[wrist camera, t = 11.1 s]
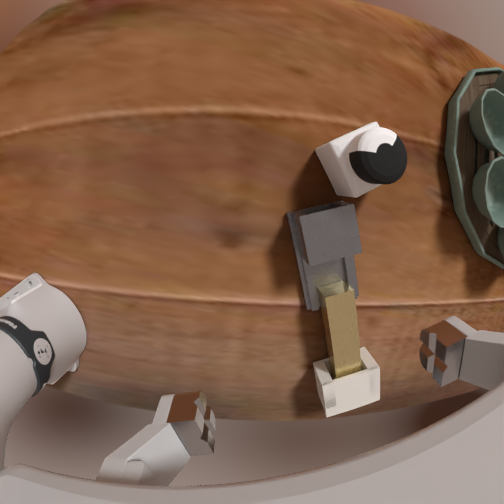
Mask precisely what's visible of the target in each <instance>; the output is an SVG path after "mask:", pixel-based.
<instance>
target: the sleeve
mask: <svg viewBox="0 0 504 504" xmlns="http://www.w3.org/2000/svg"><path fill="white" fill-rule="evenodd" d="M286 215H287V220H288V224H289V229H290V233H291V238H292V242H293V247H294V252H295V256H296V261H297V266H298V271H299V276H300V280H301V285H302V290H303V296H304V301H305V306H306V309H307V310H310V309H312V311H315V310H319V307H321V305H320V300H319V294H318V288H317V287H321V286H325V285H328V284H332V283H336V282H339V281H343V280H344V281H345V282H346V283H347V284H348V285H350V286H351V287H352V288H353V289H354V295H355V299H357V296H359V293H358V285H357V277H356V270H355V263H354V256H353V255H355V254H358V253H362V249H361V242H360V236H359V230H358V224H357V218H356V212H355V207H354V204H351V203H345V202H344V201H343V200H340V201H336V202H331V203H327V204H322V205H318V206H314V207H309V208H305V209H301V210H296V211H292V212H288V213H286Z"/></svg>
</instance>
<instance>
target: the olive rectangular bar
mask: <svg viewBox="0 0 504 504" xmlns="http://www.w3.org/2000/svg"><path fill="white" fill-rule="evenodd" d="M317 288H318V294H319V300H320V305H321V311H322V317H323V324H324V330H325V336H326V343H327V350H328V356H329V364H330V373H331V377H332V379H333V380H334V379H338V378H341V377H344V376H347V375H350V374H353V373H356V372H359V371H361V357H360V344H359V332H358V322H357V313H356V304H355V295H354V289H353V288H352V287H351V286H350V285H348V284H347V283H346V282H345V281H344V280H343V281H339V282H336V283H332V284H328V285H325V286H321V287H317Z"/></svg>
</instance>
